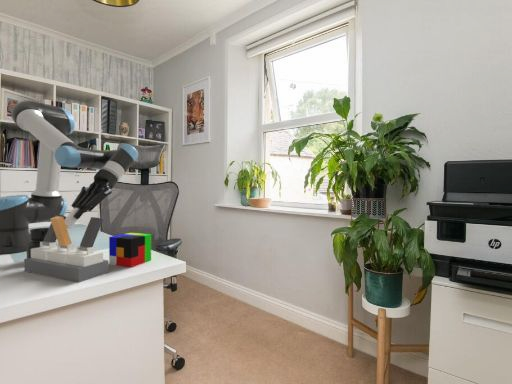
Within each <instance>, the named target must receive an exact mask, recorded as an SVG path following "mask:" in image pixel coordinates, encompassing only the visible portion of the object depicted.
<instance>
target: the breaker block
mask: <svg viewBox="0 0 512 384" xmlns="http://www.w3.org/2000/svg"><path fill="white" fill-rule="evenodd" d="M56 216H59V217H63V218H64V220H65V218H66V217H67V216H65V215H64V216H63V215H55V216H54V217H56ZM89 219H90V220H89V222H88V224H87V227H86V230H85V231H84V234H83V236H82V239H81V241H80V244H79V245H78V246H75V243H74V244H71V245H68V246H67V249H65V248H61V247H60V246H59V243H58V244H57V246H56V243H57V237H56V234H55V232H54V229H53V226H52V223H51V222H50V224H49V227H48V228H49V229H48V231H47V233H46V236H45V238H44V240H43V242H40V247H38V248H33V249H31V258H27V257H26V258H24V259H23V261H24V264H23V265H24V269H23V270H24V272H28V273H33V274H37V275H41V276H47V277H51V278H55V279H62V280H67V281H71V282H76V283H80V282H84V281H86V280H91V279H93V278H96V277H99V276H102V275H105V274H107V273H109V260H108V259H104V252H103V251H96V250H95V247H94V245H95V242H96V239H97V238H98V234H99V232H100V229H101V227H102V223H103V221H104V219H103V218H100V217H94V216H93V217H92V216H91V217H90V218H89Z"/></svg>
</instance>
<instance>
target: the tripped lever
mask: <svg viewBox="0 0 512 384" xmlns="http://www.w3.org/2000/svg"><path fill="white" fill-rule="evenodd" d="M50 220H51V222H50V224H51V223H52V226H53V229H54V232H55V234H56V237H57V239H56V241H57V243H58V244H59V246H60V247H61V248H65V249H67V246H68V245H73V244H72V241H71V236H70V235H69V234H70V233H69V230H68V228H67V227H66V224H65V221H64V218H63V217H59V216H56V217H53V218H51V219H50Z"/></svg>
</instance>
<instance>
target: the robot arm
mask: <svg viewBox="0 0 512 384" xmlns="http://www.w3.org/2000/svg"><path fill="white" fill-rule="evenodd" d="M10 116H11V118H12V121H13V122H14V124H15V125H17V127H19V128H20V129H21V130H23V131H24V132H25V131H26V132H28V133H30V134H31V135H32V136H33V137H35V138H36V139H38V141H39V149H38V162H37V171H36V185H35V189H34V191H32V192H31V194H30V197H29V196H28V194H18V195H17V194H16V195H7V196H1V197H0V255H4V254H16V253H21V252H26V247H27V245H28V244H29V243H30V242H31V240H30V239H31V238H30V230H29V228H30V227H29V225H30V224H40V223H51V220H50V219H51V218H53V217H54V216H55V215H63V216H65V214H66V212H67V210H68V209H67V207H68V203H67V202H66V201H67V200H66V199H65V198H64V197H63V194H62V193H61V192H60V190H59V189H60V179H61V169H62V168H61V167H67V168H79V169H81V168H82V169H94V170H98V171H97V172H96V173H95V174H94V176H93V182H92V183H90V184H89V186H87V187H86V186H82V187H81V190H80V192H79V193H78V195H77V196H76V198H75V199H74V201H73V203H72V204H70V206H71V207H72V208H73V209H72V210H71V212H70V213H69V214H68V215H67V216H65V217H66V218H65V220H64V221H65V224H66V227H67V229H71V228H72V227H73V226H74V225H75V224H76V222H77V221H78V220H79V219H80V218H81V217H82V216H83V215H84V214H85V213H87V212H92V211H93V210H94V209H95V208H96V207H97V206H98V205H99V204H100V203H101V202H103V200H105V199H106V198H107V197H108V196H109V195H111V194H112V193H113V191H112V189H114V187H115V186H116V185H117V184H118V183H119V181H120V180H121V179H122V177H123V176H124V175H125V174H126V173H127V171H128V170H130V168H131V167H132V165H134V164H135V163H136V160H137V159H138V157H139V152H138V151H137V149H136V147H134V146H132V145H130V144H127V143H124V144H122V145H121V146H119V148H118V149H115V150H114V149H112V150H99V149H93V148H85V147H81V146H79V145H77V144H76V143H75V142H74V141H73V140H71V139H70V138H69V137H68V135H71V134H72V133H73V131H74V130H75V124H76V123H75V118H74V116H73V115H72V113H71V112H70V110H68V109H66V108H63V107H60V106H55V105H51V104H47V103H42V102H38V101H35V100H23V101H20V102H18V103H16V104H15V105H14V106H13V107H12V109H11V111H10Z"/></svg>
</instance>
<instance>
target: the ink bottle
mask: <svg viewBox="0 0 512 384" xmlns="http://www.w3.org/2000/svg"><path fill="white" fill-rule="evenodd" d="M48 229H49V227H42V228H41V227H40V228H32V229H30V230H29V233H30V238H31V239H30V240H31V242H30V243H29V244H28V245H27V247H26V251H25V252H26V259H27V258H31V249H33V248H38V247H40V242H43V240H44V238H45V236H46V233H47V231H48ZM57 243H58V242H56V246H58V244H57Z"/></svg>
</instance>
